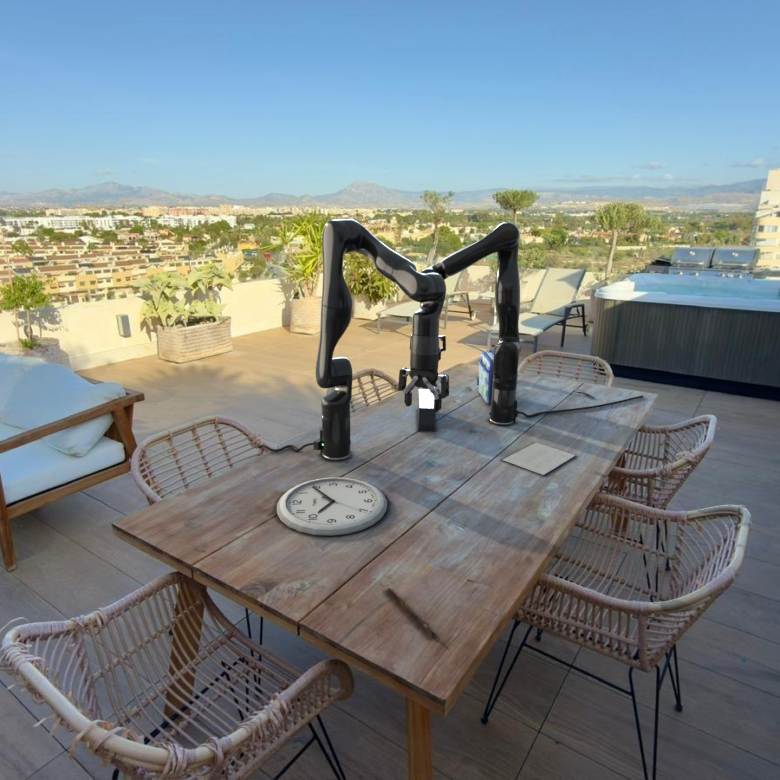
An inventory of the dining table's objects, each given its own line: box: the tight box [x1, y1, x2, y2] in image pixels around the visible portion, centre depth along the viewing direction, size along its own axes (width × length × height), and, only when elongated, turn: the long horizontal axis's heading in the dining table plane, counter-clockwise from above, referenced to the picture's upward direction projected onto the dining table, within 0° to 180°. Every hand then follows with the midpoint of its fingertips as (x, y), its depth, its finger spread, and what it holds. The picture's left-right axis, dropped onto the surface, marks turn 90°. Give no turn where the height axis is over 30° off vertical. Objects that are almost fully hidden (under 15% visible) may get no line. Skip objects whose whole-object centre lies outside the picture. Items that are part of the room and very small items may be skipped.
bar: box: [417, 388, 436, 433], centre depth 206 cm, size 24×6×9 cm, turn 177°
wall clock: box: [276, 476, 388, 537], centre depth 142 cm, size 30×2×30 cm
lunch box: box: [476, 350, 494, 406], centre depth 230 cm, size 26×11×21 cm, turn 179°
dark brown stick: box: [386, 587, 434, 638], centre depth 103 cm, size 15×1×1 cm, turn 34°
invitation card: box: [502, 442, 577, 476], centre depth 174 cm, size 21×1×15 cm
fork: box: [572, 384, 595, 399], centre depth 243 cm, size 3×16×2 cm, turn 16°
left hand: (422, 408), depth 143 cm, fingers open, 8 cm apart
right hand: (427, 360), depth 208 cm, fingers open, 8 cm apart
